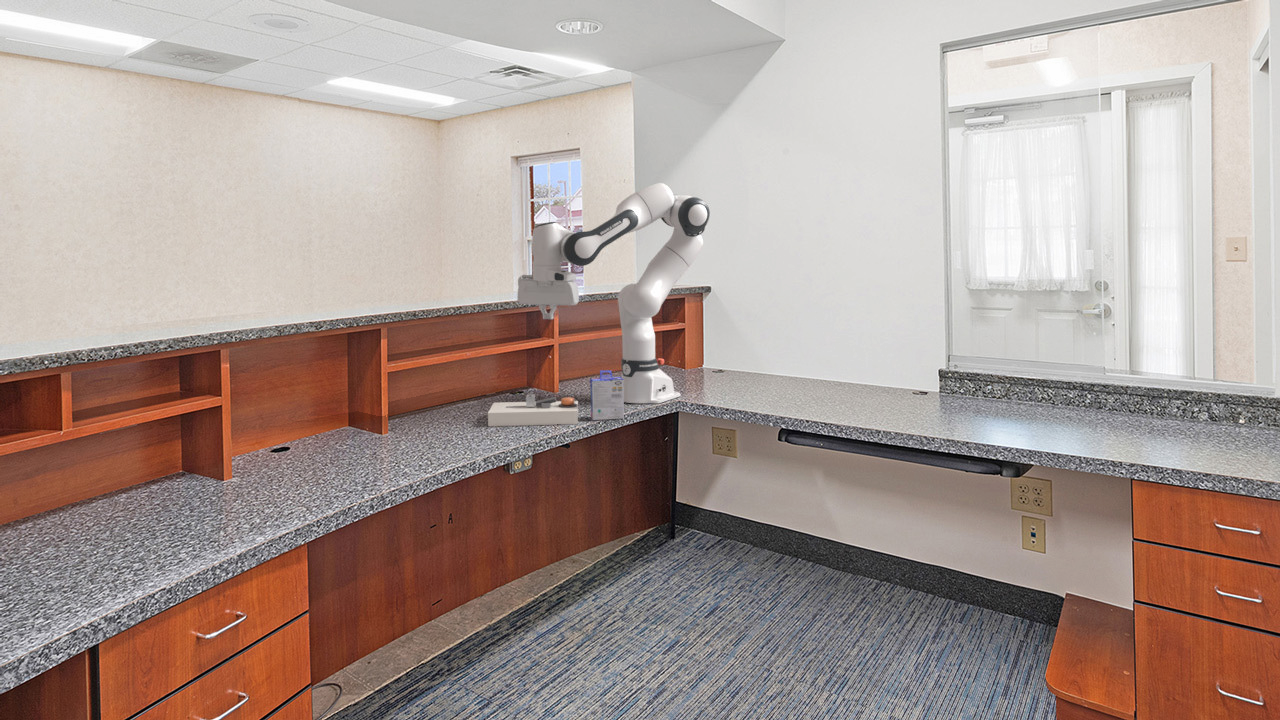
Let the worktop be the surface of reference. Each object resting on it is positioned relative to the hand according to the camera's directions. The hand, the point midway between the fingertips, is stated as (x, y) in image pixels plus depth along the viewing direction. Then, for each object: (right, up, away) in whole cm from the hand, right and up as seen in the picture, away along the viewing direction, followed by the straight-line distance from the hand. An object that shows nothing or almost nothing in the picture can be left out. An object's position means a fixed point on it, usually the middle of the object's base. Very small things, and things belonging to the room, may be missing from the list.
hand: (548, 319), depth 227 cm
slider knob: (-4, -27, -10) cm, 29 cm away
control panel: (-3, -31, -9) cm, 32 cm away
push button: (+7, -26, -9) cm, 28 cm away
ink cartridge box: (+19, -31, -7) cm, 37 cm away
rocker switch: (0, -25, -10) cm, 27 cm away
